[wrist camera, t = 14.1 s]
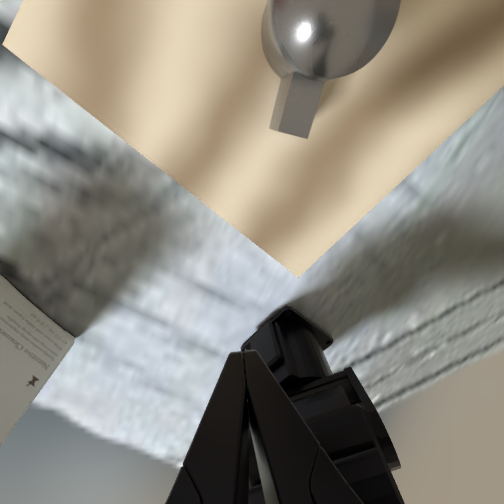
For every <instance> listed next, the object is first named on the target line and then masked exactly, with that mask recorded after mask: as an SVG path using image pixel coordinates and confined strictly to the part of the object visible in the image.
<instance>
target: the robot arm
mask: <svg viewBox="0 0 504 504" xmlns="http://www.w3.org/2000/svg"><path fill="white" fill-rule="evenodd" d="M286 312H289V313H286ZM327 340H328V341H327ZM332 343H333V339H332V337H331V336H330V335H329V334H327V333H326V332H325V331H323V330H322V329H320V328H319V327H318V326H316V325H315V324H313V323H312V322H311V321H309V320H308V319H307V318H305V317H304V316H302V315H301V314H300V313H298V312H297V311H295V310H294V309H293V308H291V307H288V306H287V307H284V308H283V309H282V310H281V311H280V312H278V313H277V314H276V315H275V316H274V317H273V318H272V319H271V320H270V321H268V322H267V323H266V324H265V325H264V326H263V327H261V328H260V329H259V330H258V331H257V332H256V333H255V334H254V335H253V336H252V337H251V338H250V339H249V340H248V341H247V342H246V343H244V344H243V345H242V346H241V351H238V352H231V353H230V354H229V355H228V358H227V360H226V362H225V365H224V367H223V370H222V372H221V374H220V377H219V379H218V381H217V384H216V386H215V389H214V391H213V393H212V396H211V398H210V400H209V403H208V405H207V407H206V410H205V412H204V415H203V417H202V419H201V422H200V424H199V426H198V429H197V431H196V433H195V436H194V438H193V441H192V443H191V445H190V448H189V450H188V452H187V455H186V457H185V460H184V462H183V466H182V467H181V469H180V471H179V473H178V476H177V478H176V480H175V483H174V485H173V487H172V490H171V492H170V494H169V496H168V498H167V501H166V503H165V504H404V501H403V499H402V496H401V494H400V492H399V490H398V487H397V485H396V482H395V480H394V478H393V475H392V473H391V471H393V470H397V469H400V468H401V465H400V461H399V459H398V456H397V453H396V451H395V448H394V446H393V444H392V441H391V439H390V437H389V435H388V433H387V430H386V428H385V426H384V424H383V422H382V420H381V418H380V416H379V414H378V412H377V410H376V409H375V407H374V405H373V403H372V402H371V400H370V398H369V397H368V395H367V393H366V391H365V390H364V388H363V386H362V385H361V383H360V381H359V380H358V378H357V376H356V375H355V373H354V371H353V370H352V368H351V367H348V368H345V369H344V370H343V371H341V372H338V373H335V374H332V371H331V369H330V367H329V365H328V362H327V360H326V358H325V355H324V353H323V351H324V350H325V349H326V348H328V347H329V346H330V345H331V344H332ZM246 349H247V350H246ZM243 356H244V358H243ZM244 367H245V368H244ZM245 378H246V379H245ZM246 389H247V390H246ZM247 400H248V402H247Z"/></svg>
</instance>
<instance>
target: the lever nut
mask: <svg viewBox="0 0 504 504" xmlns="http://www.w3.org/2000/svg"><path fill="white" fill-rule="evenodd" d="M400 3H401V0H268V1H267V3H266V6H265V9H264V12H263V16H262V23H261V41H262V47H263V50H264V54H265V57H266V59H267V61H268V63H269V65H270V67H271V68H272V70H273V71H274V72H275V73H276V74H277V75H278V76H279V77H280V78H281V81H280V85H279V89H278V93H277V97H276V101H275V106H274V110H273V114H272V118H271V122H270V126H269V129H272V130H275V131H278V132H282V133H286V134H290V135H293V136H297V137H301V138H305V139H308V136H309V133H310V130H311V126H312V123H313V120H314V116H315V113H316V110H317V107H318V103H319V100H320V97H321V93H322V90H323V87H324V83H325V82H327V81H330V80H334V79H337V78H340V77H343V76H347V75H349V74H352V73H354V72H356V71H358V70H359V69H361V68H363V67H364V66H365V65H367V64H368V63H369V62H370V61H371V60H372V59H373V58H374V57H375V56H376V55H377V54H378V53H379V51H380V50H381V49H382V47H383V46H384V44H385V43H386V41H387V40H388V38H389V36H390V34H391V32H392V30H393V27H394V25H395V22H396V19H397V16H398V13H399V8H400Z"/></svg>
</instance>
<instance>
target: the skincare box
mask: <svg viewBox="0 0 504 504" xmlns="http://www.w3.org/2000/svg"><path fill="white" fill-rule="evenodd" d="M74 340H75V338H74V337H73V336H72V335H71V334H69V333H68V332H67V331H65V330H63V329H62V328H61V327H60V326H58V325H57V324H56V323H55V322H54V321H52V320H51V319H50V318H49V317H47V316H46V315H45V314H44V313H43V312H41V311H40V310H39V309H38V308H36V307H35V306H34V305H33V304H32V303H31V302H29V301H28V300H27V299H26V298H25V297H24V296H23V295H22V294H21V293H19V292H18V291H17V290H16V289H15V288H14V287H13V286H12V285H11V284H10V283H9V282H8V281H7V280H6V279H5V278H4V277H3V276H1V275H0V446H1V445H2V443H3V442H4V441H5V439H6V438H7V436H8V435H9V433H10V432H11V431H12V429H13V428H14V426H15V425H16V423H17V422H18V421H19V419H20V418H21V417H22V415H23V414H24V412H25V411H26V410H27V408H28V407H29V406H30V404H31V403H32V401H33V400H34V399H35V397H36V396H37V395H38V393H39V392H40V390H41V389H42V388H43V386H44V385H45V383H46V382H47V381H48V379H49V378H50V376H51V375H52V374H53V372H54V371H55V370H56V368H57V367H58V365H59V364H60V363H61V361H62V360H63V358H64V357H65V355H66V354H67V353H68V351H69V350H70V348H71V347H72V345H73V344H74Z"/></svg>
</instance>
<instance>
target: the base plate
mask: <svg viewBox="0 0 504 504" xmlns="http://www.w3.org/2000/svg"><path fill="white" fill-rule="evenodd" d="M267 1H268V0H23V2H22V4H21V6H20V8H19V10H18V13H17V15H16V17H15V19H14V21H13V23H12V25H11V28H10V30H9V32H8V34H7V36H6V38H5V40H4V42H3V45H4V46H5V47H6V48H7V49H9V50H10V51H11V52H12V53H14V54H15V55H16V56H18V57H19V58H20V59H21V60H23V61H24V62H25V63H26V64H28V65H29V66H30V67H31V68H33V69H34V70H35V71H37V72H38V73H39V74H40V75H42V76H43V77H44V78H45V79H47V80H48V81H49V82H51V83H52V84H53V85H54V86H56V87H57V88H58V89H59V90H61V91H62V92H63V93H65V94H66V95H67V96H68V97H70V98H71V99H72V100H73V101H75V102H76V103H77V104H78V105H80V106H81V107H82V108H84V109H85V110H86V111H87V112H89V113H90V114H91V115H92V116H94V117H95V118H96V119H98V120H99V121H100V122H101V123H103V124H104V125H105V126H106V127H108V128H109V129H110V130H111V131H113V132H114V133H115V134H117V135H118V136H119V137H120V138H122V139H123V140H124V141H125V142H127V143H128V144H129V145H131V146H132V147H133V148H134V149H136V150H137V151H138V152H139V153H141V154H142V155H143V156H144V157H146V158H147V159H148V160H150V161H151V162H152V163H153V164H155V165H156V166H157V167H158V168H160V169H161V170H162V171H164V172H165V173H166V174H167V175H169V176H170V177H171V178H172V179H174V180H175V181H176V182H178V183H179V184H180V185H181V186H183V187H184V188H185V189H186V190H188V191H189V192H190V193H191V194H193V195H194V196H195V197H197V198H198V199H199V200H200V201H202V202H203V203H204V204H205V205H207V206H208V207H209V208H211V209H212V210H213V211H214V212H216V213H217V214H218V215H219V216H221V217H222V218H223V219H224V220H226V221H227V222H228V223H230V224H231V225H232V226H233V227H235V228H236V229H237V230H238V231H240V232H241V233H242V234H244V235H245V236H246V237H247V238H249V239H250V240H251V241H252V242H254V243H255V244H256V245H257V246H259V247H260V248H261V249H263V250H264V251H265V252H266V253H268V254H269V255H270V256H271V257H273V258H274V259H275V260H277V261H278V262H279V263H280V264H282V265H283V266H284V267H285V268H287V269H288V270H289V271H290V272H292V273H293V274H294V275H296V276H297V277H298V278H299V277H300V276H301V275H302V274H303V273H304V272H305V271H306V270H307V269H308V268H309V267H310V266H311V265H313V264H314V263H315V262H316V261H317V260H318V259H319V258H320V257H321V256H322V255H323V254H324V253H325V252H326V251H327V250H329V249H330V248H331V247H332V246H333V245H334V244H335V243H336V242H337V241H338V240H339V239H340V238H341V237H342V236H344V235H345V234H346V233H347V232H348V231H349V230H350V229H351V228H352V227H353V226H354V225H355V224H356V223H357V222H358V221H360V220H361V219H362V218H363V217H364V216H365V215H366V214H367V213H368V212H369V211H370V210H371V209H372V208H373V207H375V206H376V205H377V204H378V203H379V202H380V201H381V200H382V199H383V198H384V197H385V196H386V195H387V194H388V193H389V192H391V191H392V190H393V189H394V188H395V187H396V186H397V185H398V184H399V183H400V182H401V181H402V180H403V179H404V178H406V177H407V176H408V175H409V174H410V173H411V172H412V171H413V170H414V169H415V168H416V167H417V166H418V165H419V164H420V163H422V162H423V161H424V160H425V159H426V158H427V157H428V156H429V155H430V154H431V153H432V152H433V151H434V150H435V149H437V148H438V147H439V146H440V145H441V144H442V143H443V142H444V141H445V140H446V139H447V138H448V137H449V136H450V135H451V134H453V133H454V132H455V131H456V130H457V129H458V128H459V127H460V126H461V125H462V124H463V123H464V122H465V121H466V120H468V119H469V118H470V117H471V116H472V115H473V114H474V113H475V112H476V111H477V110H478V109H479V108H480V107H481V106H483V105H484V104H485V103H486V102H487V101H488V100H489V99H490V98H491V97H492V96H493V95H494V94H495V93H496V92H497V91H499V90H500V89H501V88H502V87H503V86H504V0H401V3H400V8H399V13H398V16H397V19H396V22H395V25H394V27H393V30H392V32H391V34H390V36H389V38H388V40H387V41H386V43H385V44H384V46H383V47H382V49H381V50H380V51H379V53H378V54H377V55H376V56H375V57H374V58H373V59H372V60H371V61H370V62H369V63H368V64H367V65H365V66H364V67H363V68H361V69H359V70H358V71H356V72H354V73H352V74H349V75H347V76H343V77H340V78H337V79H334V80H330V81H327V82H325V83H324V87H323V90H322V93H321V97H320V100H319V103H318V107H317V110H316V113H315V116H314V120H313V123H312V126H311V130H310V133H309V136H308V139H305V138H301V137H297V136H293V135H290V134H286V133H282V132H278V131H275V130H272V129H269V126H270V122H271V118H272V114H273V110H274V106H275V101H276V97H277V93H278V89H279V85H280V81H281V78H280V77H279V76H278V75H277V74H276V73H275V72H274V71H273V70H272V68H271V67H270V65H269V63H268V61H267V59H266V57H265V54H264V50H263V47H262V41H261V23H262V16H263V12H264V9H265V6H266V3H267Z"/></svg>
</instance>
